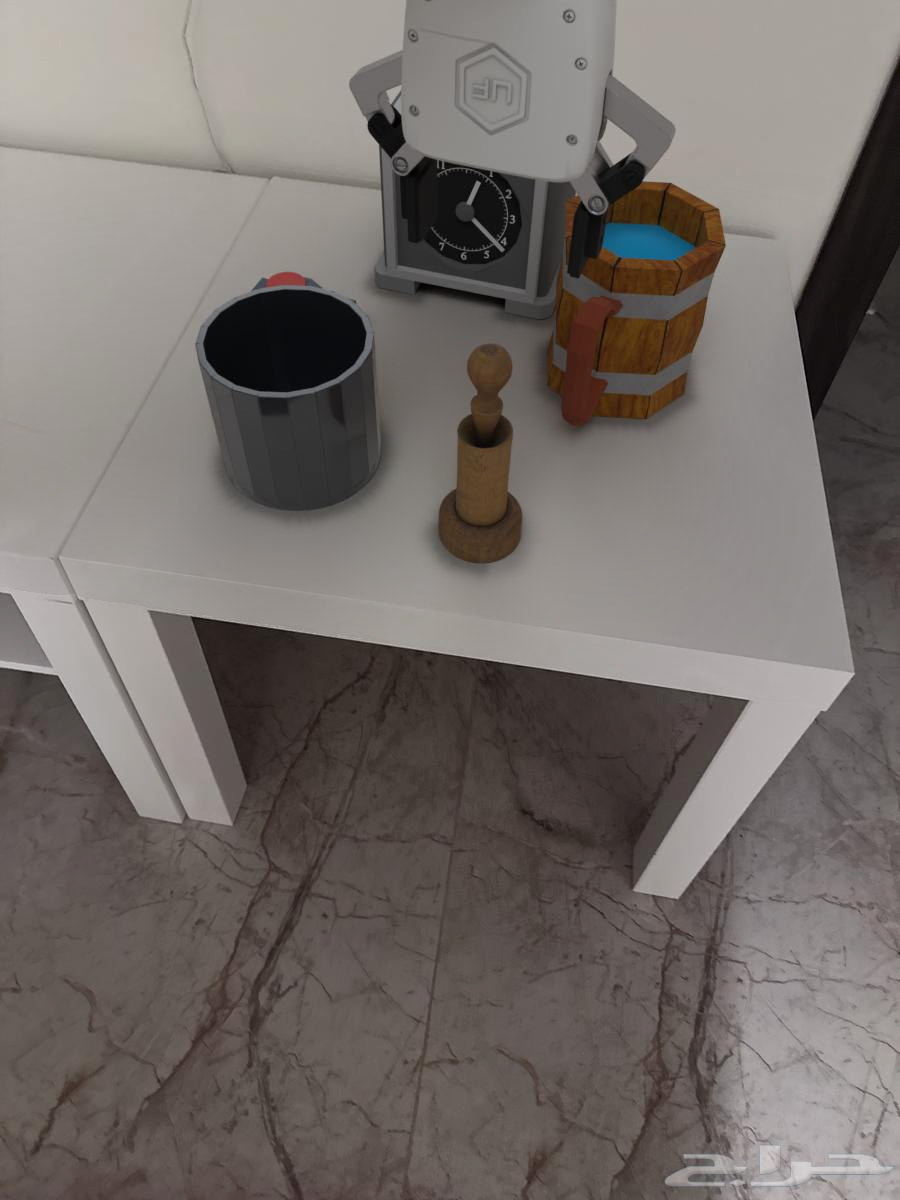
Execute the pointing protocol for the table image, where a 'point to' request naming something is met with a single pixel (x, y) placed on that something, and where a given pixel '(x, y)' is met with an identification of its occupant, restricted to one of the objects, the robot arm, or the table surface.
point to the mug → (634, 305)
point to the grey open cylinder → (293, 394)
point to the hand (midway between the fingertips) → (500, 247)
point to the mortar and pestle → (483, 469)
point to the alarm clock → (479, 236)
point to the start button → (286, 279)
